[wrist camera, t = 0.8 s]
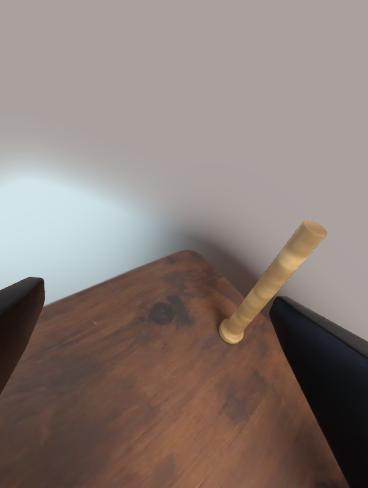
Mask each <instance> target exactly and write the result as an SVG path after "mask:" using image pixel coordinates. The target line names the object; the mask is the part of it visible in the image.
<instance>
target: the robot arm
mask: <svg viewBox="0 0 368 488" xmlns="http://www.w3.org/2000/svg"><path fill="white" fill-rule="evenodd" d="M44 301H45V290H44V280H43V279H42V278H36V277H28V278H26V279H24V280H21V281H19V282H17V283H15V284H13V285H11V286H8V287H6V288H5V289H2V290H0V394H1V392H2V391H3V389H4V387H5V385H6V383H7V381H8V380H9V378H10V376H11V374H12V372H13V371H14V369H15V367H16V365H17V363H18V361H19V360H20V358H21V356H22V354H23V352H24V350H25V348H26V346H27V344H28V342H29V339H30V337H31V334H32V332H33V330H34V327H35V325H36V322H37V320H38V317H39V315H40V312H41V310H42V307H43V305H44ZM269 315H270V319H271V321H272V324H273V326H274V329H275V332H276V334H277V337H278V340H279V342H280V345H281V347H282V350H283V352H284V354H285V356H286V358H287V360H288V362H289V364H290V367H291V369H292V371H293V373H294V375H295V377H296V379H297V381H298V383H299V385H300V387H301V389H302V391H303V393H304V395H305V397H306V399H307V401H308V403H309V406H310V408H311V410H312V412H313V414H314V416H315V418H316V420H317V422H318V424H319V426H320V428H321V430H322V432H323V434H324V436H325V438H326V440H327V442H328V445H329V447H330V449H331V451H332V453H333V455H334V457H335V459H336V461H337V463H338V465H339V467H340V469H341V471H342V473H343V475H344V477H345V479H346V481H347V484H348V486H349V488H368V342H367V341H366V340H364V339H362V338H360V337H358V336H357V335H355V334H353V333H351V332H349V331H348V330H346V329H344V328H342V327H341V326H339V325H337V324H335V323H333V322H332V321H330V320H328V319H326V318H324V317H323V316H321V315H319V314H317V313H315V312H313V311H312V310H310V309H308V308H306V307H305V306H303V305H301V304H299V303H297V302H296V301H294V300H292V299H290V298H288V297H286V296H277V297H276V299H275V300H274V302H273V305H272V307H271V309H270V312H269Z"/></svg>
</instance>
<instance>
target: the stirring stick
mask: <svg viewBox="0 0 368 488" xmlns="http://www.w3.org/2000/svg"><path fill="white" fill-rule="evenodd" d="M326 236H327V231H326V230H325V229H324V228H323V227H322V226H321V225H319V224H318V223H315V222H313V221H310V220H304V221H303V222H302V223H301V225H300V226H299V227H298V228H297V230H296V231H295V233H294V234H293V235H292V237H291V238H290V239H289V241H288V242H287V243H286V245H285V246H284V247H283V249H282V250H281V251H280V253H279V254H278V255H277V257H276V258H275V259H274V261H273V262H272V263H271V265H270V266H269V267H268V269H267V270H266V271H265V273H264V274H263V275H262V277H261V278H260V279H259V281H258V282H257V283H256V285H255V286H254V287H253V289H252V290H251V291H250V293H249V294H248V295H247V297H246V298H245V299H244V301H243V302H242V303H241V305H240V306H239V307H238V309H237V310H236V311H235V313H234V314H233V316H232V317H231V318H230V319H225V320H223V321H222V323H221V324H220V326H219V334H220V336H221V338H222V339H223V340H224V341H225V342H227V343H229V344H237V343H239V342H240V341H241V340H242V338H243V336H244V331H243V330H244V329H245V328H246V327H247V325H248V324H249V323H250V322H251V321H252V320H253V319H254V317H255V316H256V315H257V314H258V313H259V312H260V311H261V309H262V308H263V307H264V306H265V305H266V304H267V303H268V301H269V300H270V299H271V298H272V297H273V296H274V295H275V294H276V292H277V291H278V290H279V289H280V288H281V287H282V286H283V284H284V283H285V282H286V281H287V280H288V279H289V278H290V276H291V275H292V274H293V273H294V272H295V271H296V270H297V268H298V267H299V266H300V265H301V264H302V263H303V262H304V260H305V259H306V258H307V257H308V256H309V255H310V254H311V253H312V252H313V250H314V249H315V248H316V247H317V246H318V245H319V243H320V242H321V241H322V240H323V239H324V238H325V237H326Z"/></svg>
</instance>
